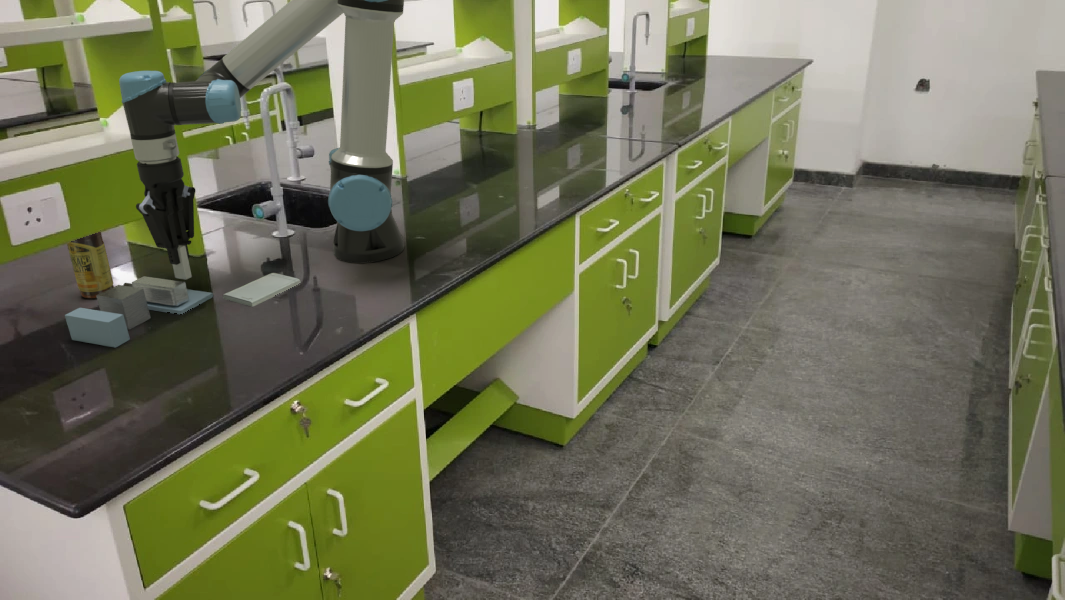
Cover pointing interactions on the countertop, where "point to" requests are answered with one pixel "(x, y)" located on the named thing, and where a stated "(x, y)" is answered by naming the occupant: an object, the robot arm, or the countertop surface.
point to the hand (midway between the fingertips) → (183, 277)
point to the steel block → (125, 304)
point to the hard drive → (261, 289)
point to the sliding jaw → (162, 290)
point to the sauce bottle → (90, 265)
